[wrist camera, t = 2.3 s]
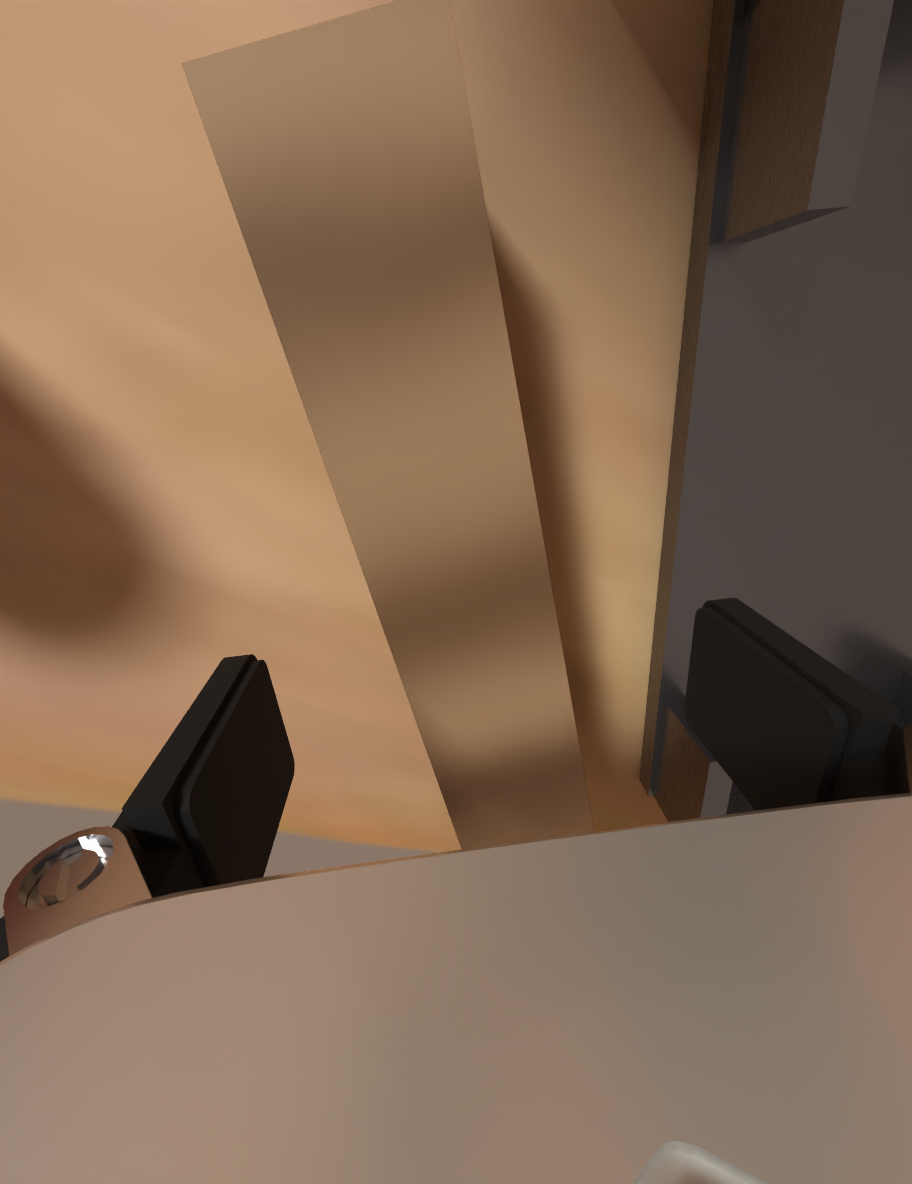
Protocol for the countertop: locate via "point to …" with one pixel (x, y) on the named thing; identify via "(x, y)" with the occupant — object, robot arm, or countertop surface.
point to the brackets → (792, 366)
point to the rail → (409, 385)
